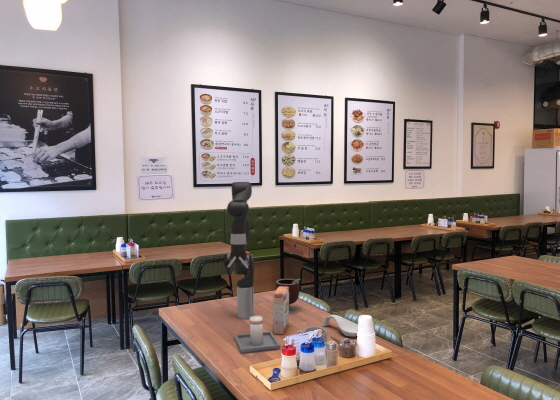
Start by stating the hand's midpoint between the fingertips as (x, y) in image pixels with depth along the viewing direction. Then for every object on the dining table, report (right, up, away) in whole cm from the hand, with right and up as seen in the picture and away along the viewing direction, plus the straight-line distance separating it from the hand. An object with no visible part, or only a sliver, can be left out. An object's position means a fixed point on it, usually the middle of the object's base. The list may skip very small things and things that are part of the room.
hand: (238, 275), depth 218 cm
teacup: (+35, -31, -13) cm, 49 cm away
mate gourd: (+25, -28, +39) cm, 54 cm away
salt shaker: (+9, -30, -10) cm, 33 cm away
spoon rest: (+52, -30, +6) cm, 60 cm away
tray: (+9, -31, -10) cm, 34 cm away
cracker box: (+21, -30, +9) cm, 37 cm away
